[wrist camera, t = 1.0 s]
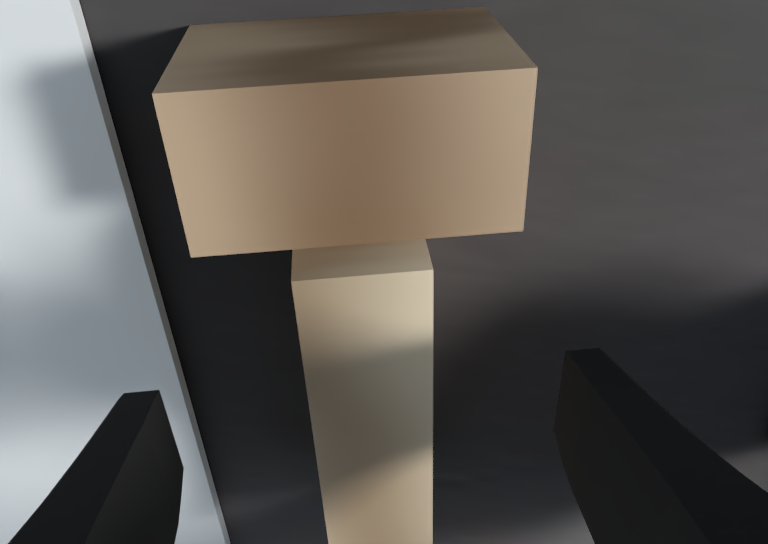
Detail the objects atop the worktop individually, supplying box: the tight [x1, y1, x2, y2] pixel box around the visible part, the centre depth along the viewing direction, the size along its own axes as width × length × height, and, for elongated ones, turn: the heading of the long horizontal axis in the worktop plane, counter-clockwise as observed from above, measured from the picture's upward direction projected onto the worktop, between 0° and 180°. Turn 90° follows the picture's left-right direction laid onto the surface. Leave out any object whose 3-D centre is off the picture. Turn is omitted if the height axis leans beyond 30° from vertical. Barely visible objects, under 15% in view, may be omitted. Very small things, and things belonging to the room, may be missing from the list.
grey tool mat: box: [0, 0, 231, 544], centre depth 18 cm, size 8×21×1 cm, turn 2°
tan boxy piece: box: [152, 7, 538, 544], centre depth 16 cm, size 6×14×5 cm, turn 2°
